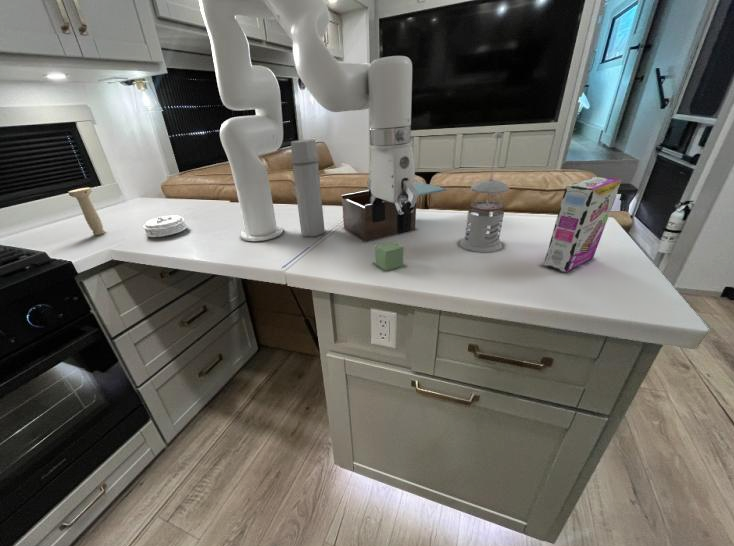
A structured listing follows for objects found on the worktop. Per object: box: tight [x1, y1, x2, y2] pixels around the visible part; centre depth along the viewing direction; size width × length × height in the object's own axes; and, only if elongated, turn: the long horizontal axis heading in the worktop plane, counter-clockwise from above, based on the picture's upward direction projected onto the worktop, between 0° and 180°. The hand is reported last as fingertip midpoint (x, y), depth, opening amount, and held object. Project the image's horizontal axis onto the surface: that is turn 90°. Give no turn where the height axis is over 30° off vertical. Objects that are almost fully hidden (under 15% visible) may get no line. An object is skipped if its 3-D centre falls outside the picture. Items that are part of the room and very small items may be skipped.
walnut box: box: [341, 189, 417, 242], centre depth 95 cm, size 14×16×10 cm
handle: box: [67, 187, 105, 236], centre depth 111 cm, size 5×6×15 cm
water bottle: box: [290, 138, 326, 238], centre depth 92 cm, size 9×8×25 cm
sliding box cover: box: [399, 181, 447, 198], centre depth 95 cm, size 13×15×3 cm
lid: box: [142, 214, 188, 238], centre depth 108 cm, size 13×13×5 cm
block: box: [374, 240, 404, 272], centre depth 74 cm, size 5×5×5 cm
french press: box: [459, 131, 510, 253], centre depth 76 cm, size 10×12×25 cm
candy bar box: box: [542, 176, 623, 273], centre depth 65 cm, size 11×5×16 cm, turn 123°
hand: (390, 226), depth 70 cm, fingers open, 9 cm apart
